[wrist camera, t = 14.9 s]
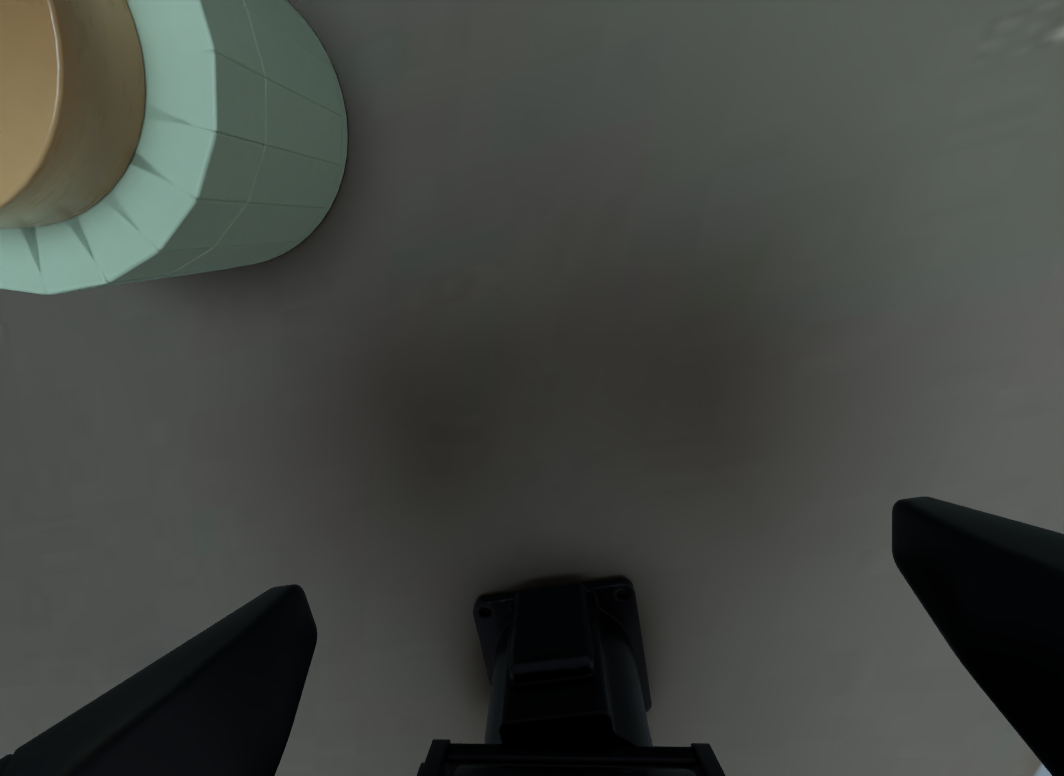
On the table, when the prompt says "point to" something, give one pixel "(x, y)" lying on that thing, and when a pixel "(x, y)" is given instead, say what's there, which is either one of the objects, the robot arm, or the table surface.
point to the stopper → (65, 106)
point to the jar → (204, 154)
